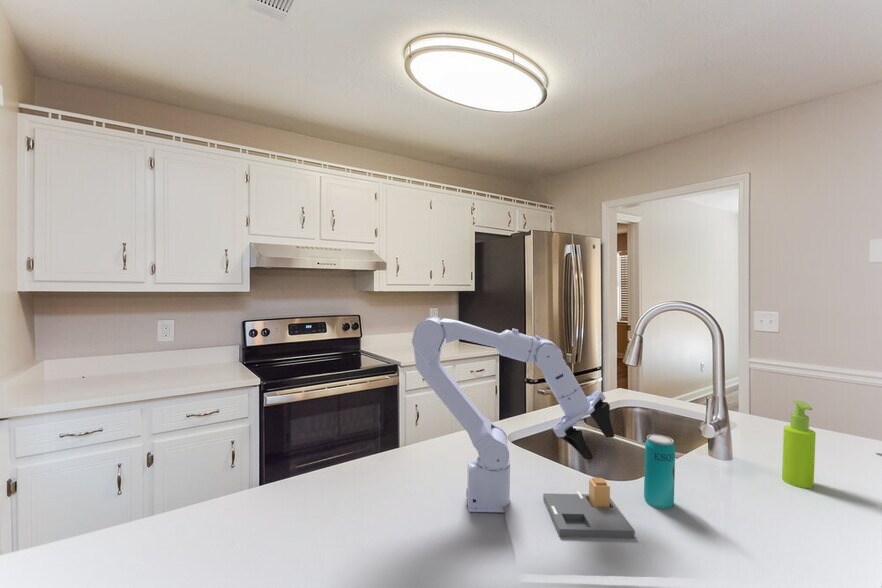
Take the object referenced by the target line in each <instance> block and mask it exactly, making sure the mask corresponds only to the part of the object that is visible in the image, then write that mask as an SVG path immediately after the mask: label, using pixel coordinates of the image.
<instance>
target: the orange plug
mask: <svg viewBox="0 0 882 588" xmlns="http://www.w3.org/2000/svg"><path fill="white" fill-rule="evenodd" d="M588 494H589V503H590V505H591V506H592V507H604V508H610V498H611V485H610V484H609V483H608V482H607V480H606V479H605V478H603V477H592V478H589V479H588Z"/></svg>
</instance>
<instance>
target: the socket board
mask: <svg viewBox="0 0 882 588" xmlns="http://www.w3.org/2000/svg"><path fill="white" fill-rule="evenodd" d="M575 492H576V493H543V496H542V497H543V499H542V500H543V503H544V505H545V507H546V509H547V512H548V514H549V517H550V519H551V521H552V524H553V526H554V529H555V530H556V532H557V535H558V537H559V538H561V537H562V538H599V539H601V538H602V539H603V538H605V539H608V538H609V539H635V536H636V535H635V534H636V531H635V529H634V527H632V525H631V524H630V523H629V521H628V520H627V519H626V517H625V516H624V514H623V513H622V512H621V510H620V509H619V508H618V506H617V505H616V504H615V503H614V501H613V500H612V498H611V497H610V508H604V507H592V506H591V505H590V503H589V493H587V494H586V493H581V492H580V491H578V490H576V491H575Z"/></svg>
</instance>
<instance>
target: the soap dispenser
mask: <svg viewBox="0 0 882 588" xmlns="http://www.w3.org/2000/svg"><path fill="white" fill-rule="evenodd" d="M792 403H793V404H794V405H795V410H794V412H793V413H790V425H784V426H783V439H782V444H783V445H782V467H781V468H782V470H781V471H782V472H781V473H782V475H781V478H782V481H784V482H785V483H786V484H788V485H791V486H794V487H798V488H803V489H813V488H814V487H815V465H816V464H815V461H816V455H815V454H816V434H817V433H816V431H814V430H813V429H809V428H810V417H809V415H807V414H805V413H806V410H809V411H812V410H813V407H812V406H811V405H810V404H808V403H807V402H805V401H802V400H793V401H792Z"/></svg>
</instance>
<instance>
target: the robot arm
mask: <svg viewBox="0 0 882 588" xmlns="http://www.w3.org/2000/svg"><path fill="white" fill-rule="evenodd" d="M458 340H463V341H466V342H471V343H476V344H478V345H484V346H488V347H492V348H495V349H496V350H497V352H498V354H499V355H500V356H502V357H506V358H509V359H512V360H516V361H520V362H522V363H523V362H524V363H527V364H531V363H535V366H536V367H538V368H539V369H540V370H541V372H542V374H543V376H544V380H545V381H546V384H547V385H548V387H549V388H550V390H551V392H552V394H553V395H554V397H555V400H556V401H557V403H558V404H559V406H560V408H561V410H562V411H563V415H562V417H561V418H560V420H559V421H558V422H557V423H556V425H555V426H554V427H553V428H552V430H553V432H554V434H555V435H556V437H558V438H560V439H561V440H564V442H566V443H568V444H569V446H571V447H573V448H574V450H576V451H577V452H578V453H579V454H580V455H581V457H582V458H583V459H585V460H592V459H593V458H594V457H593V454H592V452H591V450H590V449H589V447H588V445H587V442H586V441H585V440H586V439H585V437H584V435H583V431H582V430H580V429H577V428H575V427H574V426H575V425H576V424H578V423H579V421H581V420H582V419H583V418H585V417H586V416H588V415H590V416H591V418H592V420H594V421H595V423H596V424H597V426H598V428H599V429H600V431H601V433H602V434H603V436H604V437H605V438H612V439H613V438H614V437H615V433H614V429H613V427H612V421H611V415H610V414H611V413H610V411H611V410H610V409H611V408H610V407H611V405H610V404H609V402H607V401H605V400H606V399H607V398H606V396H605V395H604V393H603V391H602V390H596V391H595V390H594V392H592V394H590V395H588V396H586V394H585V391H584V390H583V389H582V386H581V385H580V384H579V381H578V380H577V379H576V377H575V375H574V373H573V371H572V370H571V368H570V367H569V366H568V365H567V361H565V359H564V358H563V357H564V355H563V351H562V350H561V348H560V347H559V346H557V344H556V343H554V342H553V341H551V340H549V339H547V338H545V337H542V338H541V336H540V335H535V336H532V335H527V334H524V333H521V332H519V329H516V328H512V330H509V329H505V330H503V331H502V332H495V331H493V330H489V329H486V328H482V327H480V326H477V325H473V324H470V323H467V322H464V321H460V320H456V319H451V318H441V317H439V316H435V315H434V316H429V317H427V318H425V319H424V320H421V321H420V322H418V323H417V324H416V326H415V328H414V331H413V336H412V340H411V344H412V347H413V352H414V353H413V354H414V360H415V367H416V371H417V372H418V373H419V374H420V375H421V377H422V378H423V379H424V380H425V382H426V383H427V384H428V386H429V387H430V388H431V389H432V390H433V392H434V393H435V394H436V395H437V397H438V398H439V399H440V400H441V402H442V403H443V404H444V405H445V406H446V408H447V409H448V411H450V413H451V414H452V415H453V417H455V420H457V422H459V424H460V425H461V427H462V428H463V429H464V430H465V431H466V433H467V435H468V436H469V439H470V441H471V444H472V446H473V447H474V449H476V451H477V453H478V456H477V459H476V460H474V461H468V462H467V483H466V484H467V486H466V487H465V488H466V489H465V493H466V495H465V496H466V498H467V506H468V512H469V513H506V510H505V507H506V506H508V505H509V504H510V501H511V500H510V499H511V498H510V497H511V496H510V491H511V489H510V488H511V460H510V450H509V448H508V436H507V434H506V432H505V430H504V429H503V428H501V427H499V426H497V425H495V424H494V423H493V422H492V421H491V420H490V418H488V417H486V416H485V415H484V414H483V413H482V412H481V411H480V410H479V409H478V407H477V405H475V404H474V402H473V401H472V400H471V399H470V398H469V396H468V395H467V393H466V392H465V391H464V390H463V388H461V386H460V385H459V384H458V383H457V381H456V380H455V379H454V378H453V377H452V375H451V374H450V373H449V372H448V370H447V369H446V368H445V366H444V365H443V364H442V363H441V361H440V360H441V352H442V345H443V344H444V342H445V343H446V344H448V343H451V342H454V341H458Z"/></svg>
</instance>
